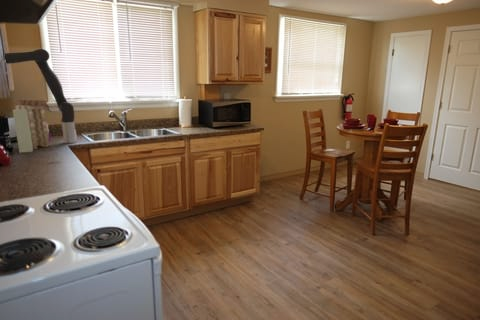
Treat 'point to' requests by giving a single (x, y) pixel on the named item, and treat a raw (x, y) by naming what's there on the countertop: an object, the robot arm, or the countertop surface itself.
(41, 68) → the robot arm
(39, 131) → the tan egg carton
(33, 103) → the walnut bar
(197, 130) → the countertop surface
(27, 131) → the sage post
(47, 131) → the candy bar box
